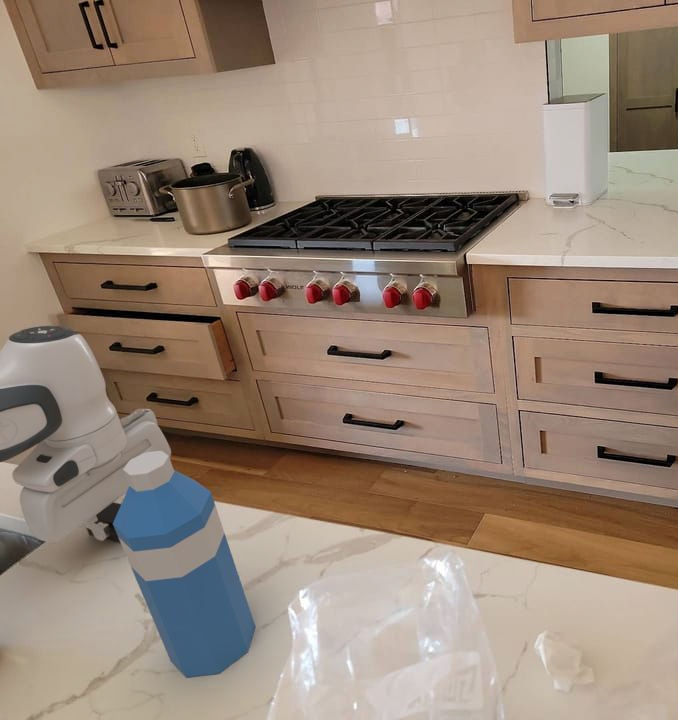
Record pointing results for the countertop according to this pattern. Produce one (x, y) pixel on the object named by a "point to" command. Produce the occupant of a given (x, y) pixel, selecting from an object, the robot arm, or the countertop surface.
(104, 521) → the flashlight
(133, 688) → the countertop surface
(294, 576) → the countertop surface
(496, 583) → the countertop surface
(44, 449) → the robot arm
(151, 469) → the water bottle
